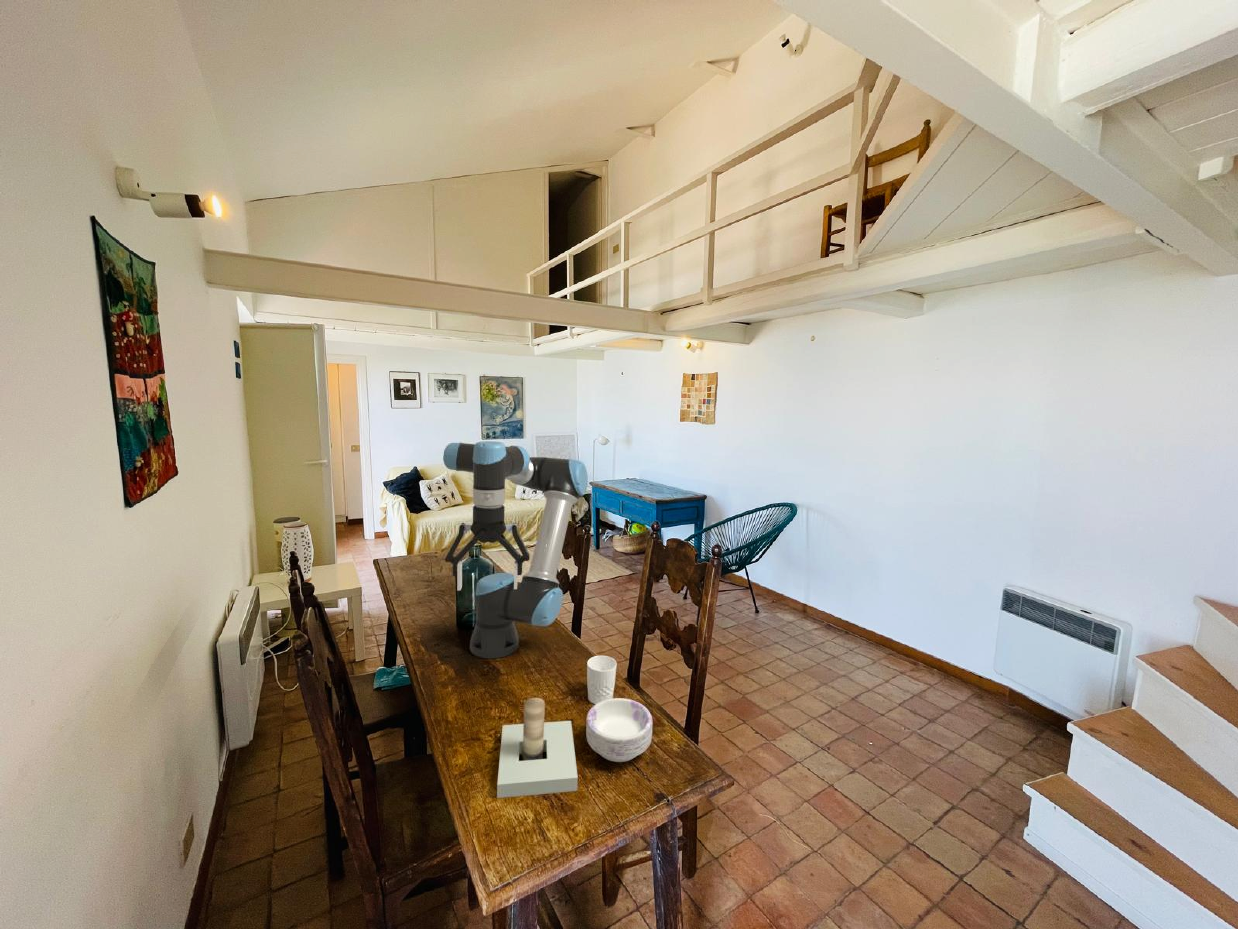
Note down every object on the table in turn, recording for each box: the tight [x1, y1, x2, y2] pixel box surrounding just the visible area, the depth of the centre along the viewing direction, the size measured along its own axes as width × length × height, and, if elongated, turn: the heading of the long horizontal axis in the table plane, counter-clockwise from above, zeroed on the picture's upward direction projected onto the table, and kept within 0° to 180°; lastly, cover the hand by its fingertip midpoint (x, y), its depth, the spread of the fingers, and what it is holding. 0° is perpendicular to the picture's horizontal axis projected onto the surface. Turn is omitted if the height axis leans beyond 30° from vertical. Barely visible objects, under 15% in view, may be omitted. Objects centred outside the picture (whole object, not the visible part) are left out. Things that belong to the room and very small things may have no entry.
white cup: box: [586, 655, 618, 705], centre depth 132 cm, size 8×8×10 cm
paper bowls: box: [585, 697, 654, 763], centre depth 114 cm, size 15×15×8 cm
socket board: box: [496, 720, 578, 799], centre depth 108 cm, size 18×16×3 cm
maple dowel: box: [521, 697, 546, 761], centre depth 107 cm, size 5×5×14 cm
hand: (487, 588), depth 123 cm, fingers open, 13 cm apart
